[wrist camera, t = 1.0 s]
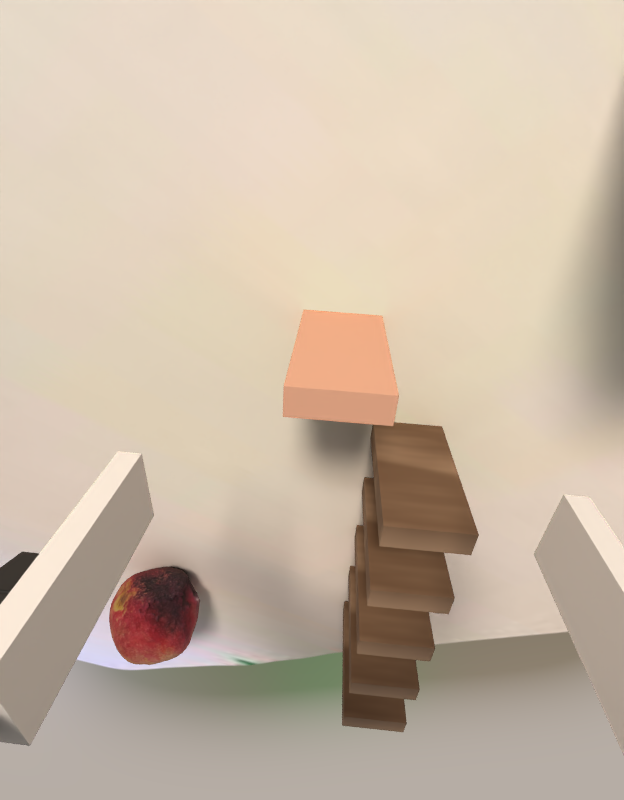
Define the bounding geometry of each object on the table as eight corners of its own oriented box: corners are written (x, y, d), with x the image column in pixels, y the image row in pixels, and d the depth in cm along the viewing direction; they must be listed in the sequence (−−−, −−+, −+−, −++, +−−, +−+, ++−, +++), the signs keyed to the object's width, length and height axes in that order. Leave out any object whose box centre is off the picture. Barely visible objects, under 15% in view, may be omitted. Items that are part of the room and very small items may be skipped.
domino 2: (437, 444, 31) (471, 555, 23) (370, 438, 32) (379, 546, 23) (441, 426, 31) (478, 534, 22) (373, 420, 31) (383, 525, 22)
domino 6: (391, 615, 43) (403, 732, 34) (343, 610, 43) (342, 725, 34) (394, 606, 42) (406, 723, 33) (344, 601, 42) (344, 716, 34)
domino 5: (400, 581, 40) (415, 700, 31) (348, 576, 40) (349, 693, 32) (403, 571, 39) (419, 689, 31) (350, 566, 39) (351, 682, 31)
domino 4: (411, 543, 37) (430, 661, 29) (354, 537, 37) (356, 653, 29) (414, 530, 36) (434, 648, 28) (356, 525, 36) (359, 640, 28)
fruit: (123, 579, 43) (80, 660, 36) (146, 536, 39) (104, 618, 32) (193, 606, 44) (165, 689, 38) (221, 567, 41) (196, 652, 34)
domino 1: (378, 339, 27) (393, 426, 19) (302, 333, 28) (282, 416, 19) (382, 315, 27) (398, 395, 18) (303, 309, 27) (283, 386, 18)
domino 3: (423, 497, 34) (448, 613, 26) (361, 491, 34) (367, 605, 26) (426, 482, 33) (454, 598, 25) (364, 477, 34) (370, 589, 25)
